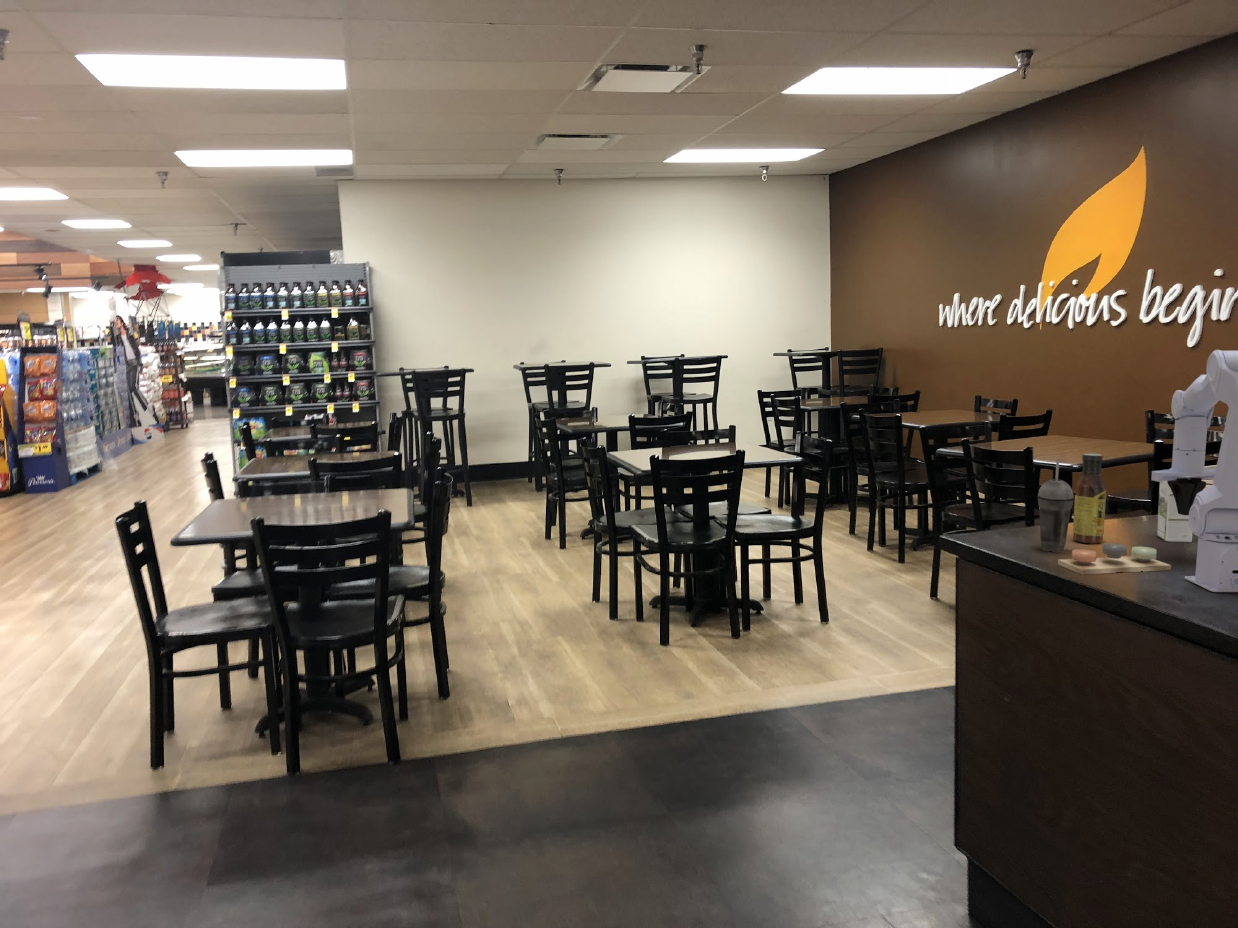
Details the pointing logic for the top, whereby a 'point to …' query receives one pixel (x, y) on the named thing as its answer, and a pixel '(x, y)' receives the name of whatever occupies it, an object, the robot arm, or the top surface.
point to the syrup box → (1171, 518)
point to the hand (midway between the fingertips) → (1184, 514)
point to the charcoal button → (1114, 550)
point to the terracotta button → (1084, 556)
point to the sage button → (1143, 553)
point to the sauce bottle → (1090, 502)
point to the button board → (1114, 565)
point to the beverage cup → (1054, 513)
